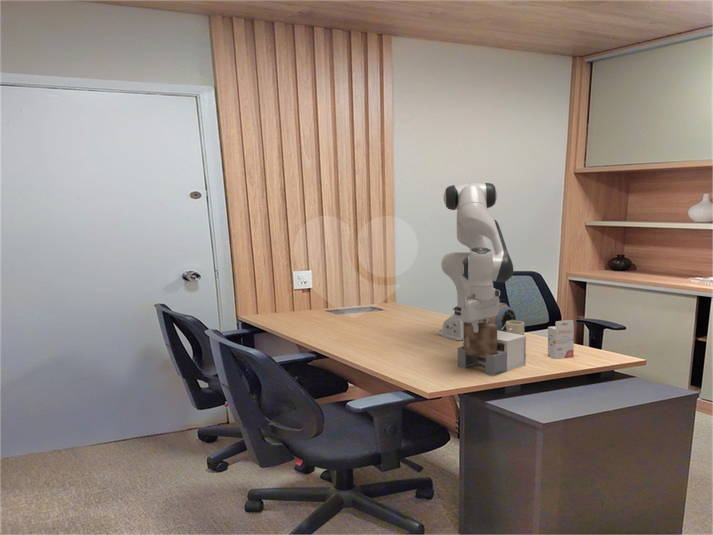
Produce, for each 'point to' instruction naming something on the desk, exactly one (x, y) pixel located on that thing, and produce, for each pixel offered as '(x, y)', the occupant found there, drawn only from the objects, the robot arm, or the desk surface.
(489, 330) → the wooden block
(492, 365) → the cabinet
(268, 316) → the desk surface
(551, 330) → the ink cartridge box
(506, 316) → the alarm clock
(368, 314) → the desk surface
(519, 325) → the character mug
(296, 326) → the desk surface
